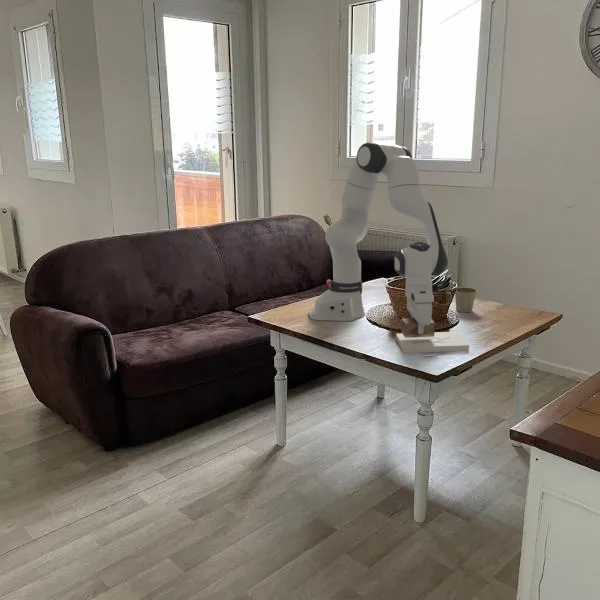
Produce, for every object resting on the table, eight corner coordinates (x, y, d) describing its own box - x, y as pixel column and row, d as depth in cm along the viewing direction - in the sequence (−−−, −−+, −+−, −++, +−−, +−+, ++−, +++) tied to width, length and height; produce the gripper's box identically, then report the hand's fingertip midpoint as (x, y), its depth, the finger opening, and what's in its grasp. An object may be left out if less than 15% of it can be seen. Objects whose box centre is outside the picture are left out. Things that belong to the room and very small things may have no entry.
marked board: (403, 353, 205) (404, 347, 205) (395, 338, 219) (396, 333, 218) (468, 350, 206) (469, 345, 206) (456, 336, 220) (457, 331, 219)
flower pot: (474, 307, 254) (475, 287, 251) (478, 314, 245) (479, 293, 242) (451, 307, 255) (452, 287, 252) (454, 313, 246) (455, 293, 243)
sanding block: (405, 337, 208) (405, 323, 207) (401, 332, 214) (401, 318, 213) (434, 336, 209) (434, 322, 207) (429, 330, 214) (430, 317, 213)
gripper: (402, 283, 217) (402, 321, 221) (416, 299, 197) (415, 340, 201) (420, 283, 217) (419, 320, 221) (435, 298, 197) (434, 339, 201)
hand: (417, 329), depth 211 cm, fingers closed on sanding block, 6 cm apart
